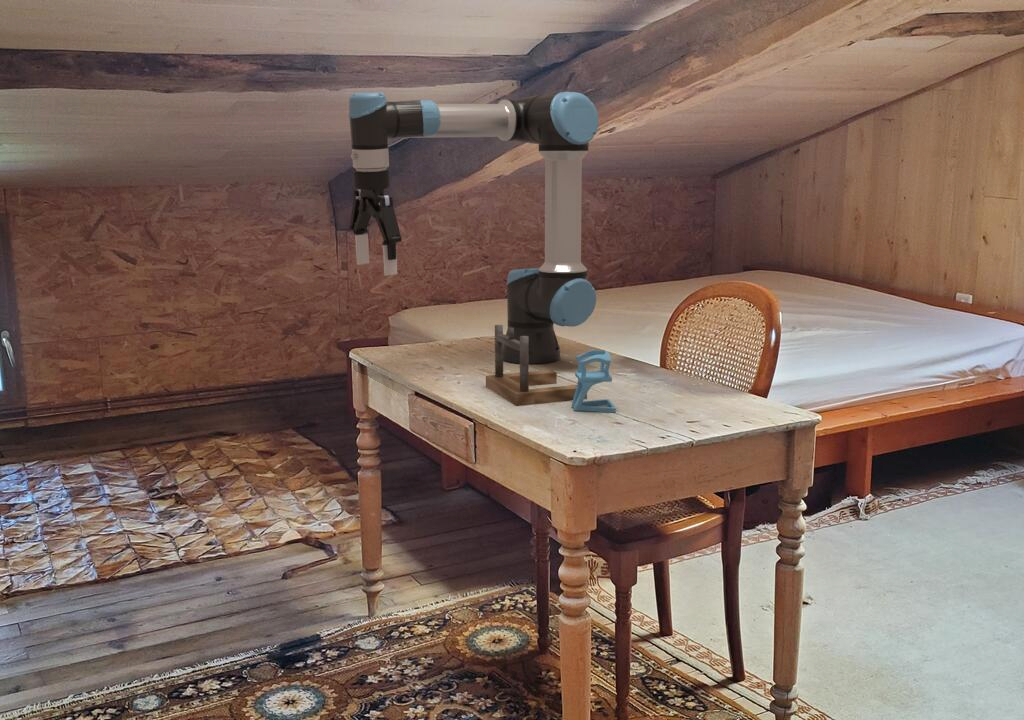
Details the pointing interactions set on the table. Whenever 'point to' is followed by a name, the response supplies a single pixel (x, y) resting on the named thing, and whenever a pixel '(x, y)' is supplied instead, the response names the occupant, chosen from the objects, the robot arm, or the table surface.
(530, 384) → the wooden post frame
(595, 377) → the chair
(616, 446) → the table surface
